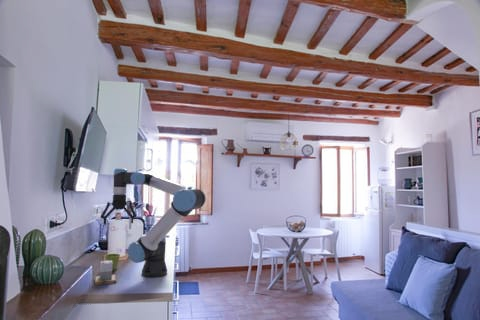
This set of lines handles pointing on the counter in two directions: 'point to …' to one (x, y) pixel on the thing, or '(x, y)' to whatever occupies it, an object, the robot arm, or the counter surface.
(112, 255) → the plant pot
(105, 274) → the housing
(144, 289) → the counter surface
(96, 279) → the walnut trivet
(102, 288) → the counter surface
